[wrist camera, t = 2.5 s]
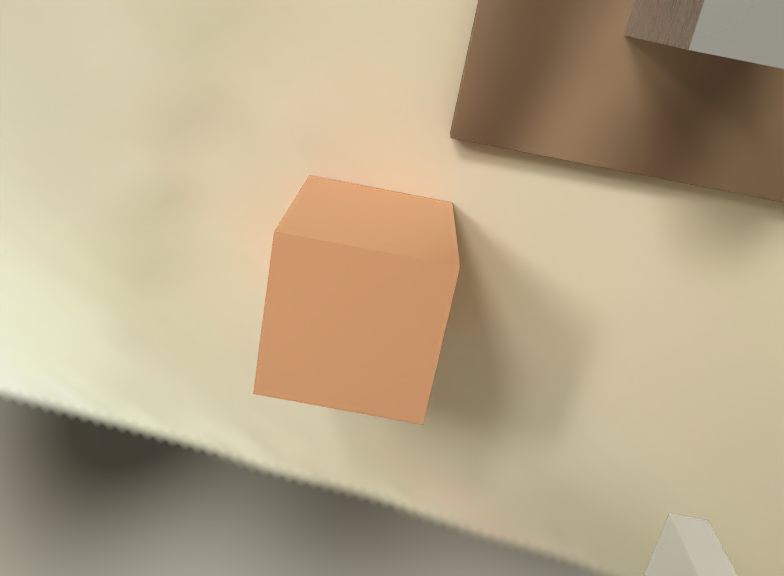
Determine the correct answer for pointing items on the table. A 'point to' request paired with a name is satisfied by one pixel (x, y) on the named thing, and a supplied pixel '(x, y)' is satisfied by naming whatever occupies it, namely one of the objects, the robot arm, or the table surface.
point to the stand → (619, 98)
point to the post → (714, 27)
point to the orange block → (358, 300)
